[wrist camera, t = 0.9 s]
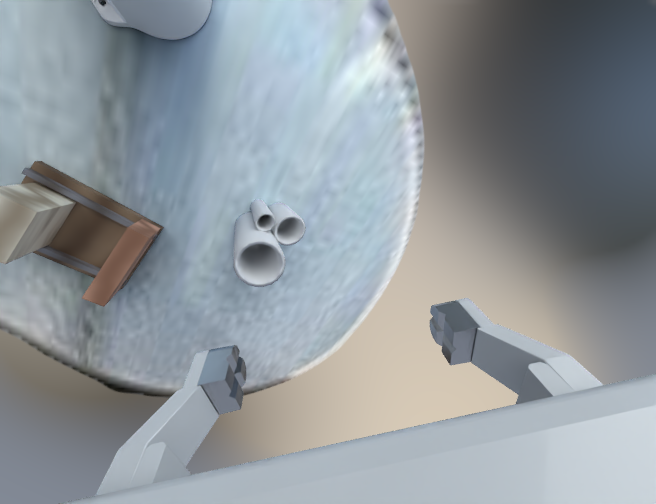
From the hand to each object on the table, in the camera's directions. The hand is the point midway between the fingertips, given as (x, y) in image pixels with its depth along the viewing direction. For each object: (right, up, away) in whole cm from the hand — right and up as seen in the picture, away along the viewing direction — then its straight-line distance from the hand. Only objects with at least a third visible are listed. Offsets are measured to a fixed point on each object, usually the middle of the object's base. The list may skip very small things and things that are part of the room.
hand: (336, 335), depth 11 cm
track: (-39, +7, +34) cm, 52 cm away
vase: (-14, +10, +41) cm, 45 cm away
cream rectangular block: (-43, +9, +29) cm, 53 cm away
